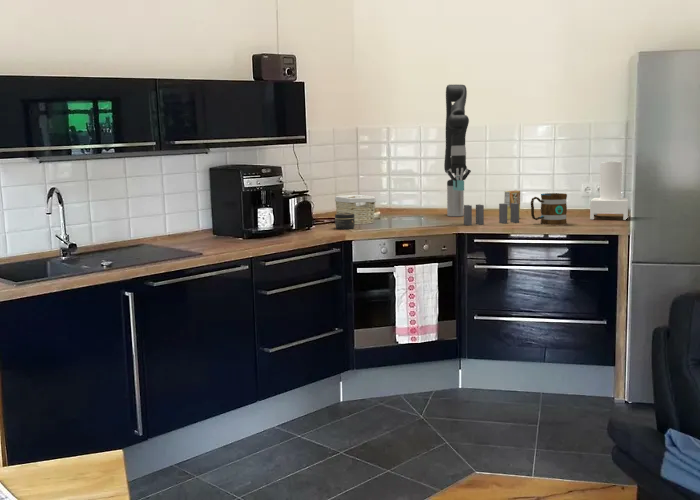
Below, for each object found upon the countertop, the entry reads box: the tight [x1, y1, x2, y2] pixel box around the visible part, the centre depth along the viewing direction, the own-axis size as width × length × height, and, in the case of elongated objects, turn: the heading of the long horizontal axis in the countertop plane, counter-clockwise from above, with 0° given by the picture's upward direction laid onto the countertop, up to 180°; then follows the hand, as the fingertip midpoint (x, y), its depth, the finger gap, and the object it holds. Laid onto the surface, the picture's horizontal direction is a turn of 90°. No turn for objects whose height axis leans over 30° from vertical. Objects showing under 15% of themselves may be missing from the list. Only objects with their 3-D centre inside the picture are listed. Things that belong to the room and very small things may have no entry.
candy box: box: [503, 189, 521, 221], centre depth 435 cm, size 9×4×15 cm, turn 129°
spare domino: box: [453, 180, 465, 191], centre depth 410 cm, size 2×5×10 cm
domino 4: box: [510, 203, 520, 224], centre depth 418 cm, size 2×5×10 cm, turn 12°
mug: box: [530, 192, 568, 226], centre depth 409 cm, size 20×14×15 cm
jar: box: [334, 213, 356, 231], centre depth 408 cm, size 10×10×8 cm
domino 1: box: [463, 204, 473, 226], centre depth 413 cm, size 2×5×10 cm, turn 12°
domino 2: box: [475, 203, 485, 226], centre depth 414 cm, size 2×5×10 cm, turn 12°
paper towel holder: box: [589, 160, 629, 221], centre depth 429 cm, size 19×19×30 cm
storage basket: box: [334, 194, 377, 225], centre depth 435 cm, size 24×16×15 cm
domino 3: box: [498, 203, 508, 225], centre depth 417 cm, size 2×5×10 cm, turn 12°
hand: (458, 188), depth 410 cm, fingers closed, pressing on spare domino
